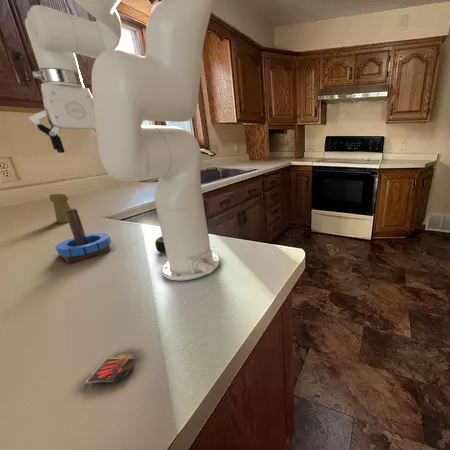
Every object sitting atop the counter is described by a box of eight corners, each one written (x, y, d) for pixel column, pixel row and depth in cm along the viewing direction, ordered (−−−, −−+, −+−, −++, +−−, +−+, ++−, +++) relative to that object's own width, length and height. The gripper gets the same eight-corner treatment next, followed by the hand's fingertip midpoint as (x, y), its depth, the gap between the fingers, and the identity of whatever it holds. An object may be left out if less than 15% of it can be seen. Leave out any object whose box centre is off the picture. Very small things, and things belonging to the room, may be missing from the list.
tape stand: (110, 250, 69) (97, 208, 65) (69, 263, 62) (51, 216, 58) (99, 243, 74) (86, 203, 70) (59, 254, 67) (42, 211, 63)
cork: (53, 221, 96) (43, 194, 92) (71, 217, 101) (62, 191, 98) (62, 223, 94) (51, 195, 90) (80, 218, 99) (71, 191, 95)
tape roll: (117, 244, 69) (115, 238, 68) (65, 260, 61) (62, 253, 60) (102, 236, 75) (100, 230, 75) (53, 249, 67) (51, 243, 66)
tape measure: (182, 253, 67) (180, 240, 65) (154, 257, 65) (151, 244, 63) (185, 243, 73) (183, 232, 71) (160, 247, 71) (157, 235, 69)
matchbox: (128, 379, 31) (127, 376, 31) (80, 391, 30) (79, 388, 30) (139, 351, 36) (138, 348, 35) (97, 360, 34) (96, 357, 34)
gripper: (16, 71, 53) (44, 153, 59) (109, 84, 66) (125, 150, 72) (9, 76, 57) (37, 153, 63) (98, 87, 70) (114, 149, 76)
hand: (84, 151), depth 67 cm, fingers open, 9 cm apart
